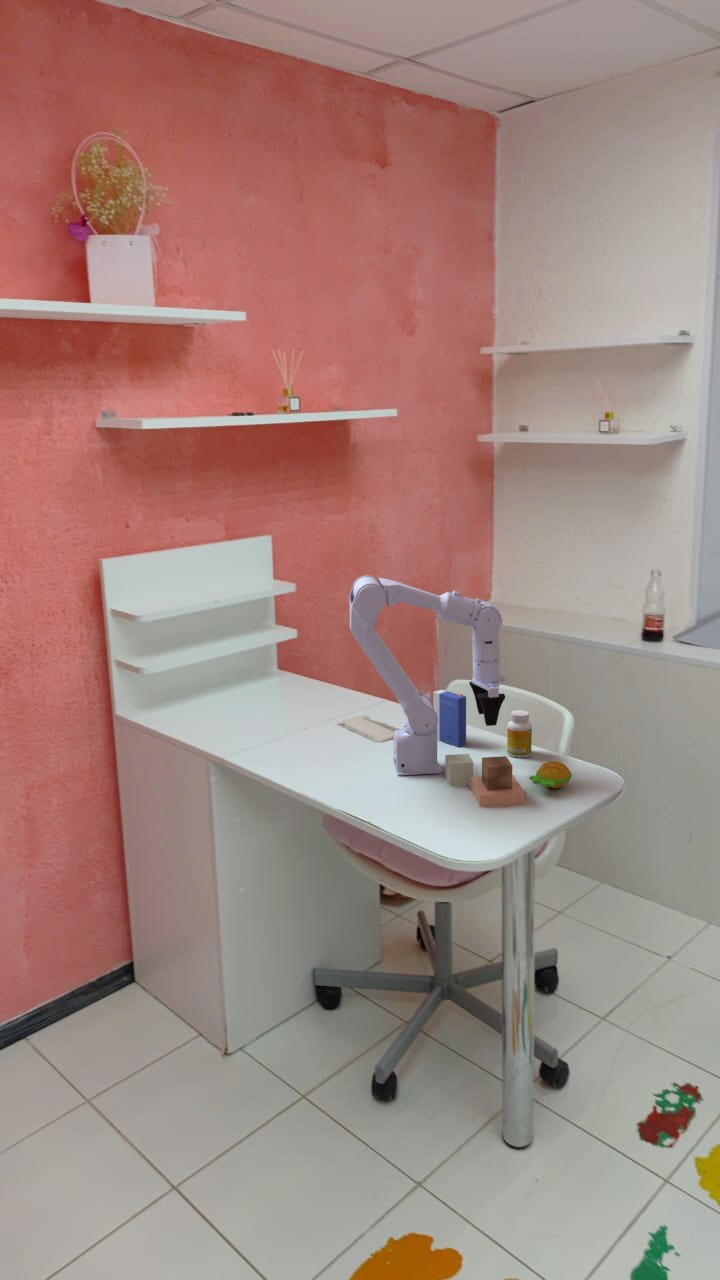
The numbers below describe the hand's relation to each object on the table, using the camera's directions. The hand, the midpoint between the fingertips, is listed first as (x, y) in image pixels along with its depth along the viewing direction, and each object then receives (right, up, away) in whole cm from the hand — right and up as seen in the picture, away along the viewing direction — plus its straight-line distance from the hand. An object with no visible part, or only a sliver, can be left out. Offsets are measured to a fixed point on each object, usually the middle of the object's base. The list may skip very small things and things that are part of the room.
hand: (487, 719), depth 208 cm
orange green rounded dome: (+12, -13, -11) cm, 21 cm away
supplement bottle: (+8, -9, +8) cm, 14 cm away
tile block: (0, -15, -14) cm, 20 cm away
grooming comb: (-25, -5, +27) cm, 37 cm away
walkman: (-7, -7, +17) cm, 19 cm away
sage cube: (-7, -13, -6) cm, 15 cm away
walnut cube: (0, -12, -15) cm, 19 cm away
